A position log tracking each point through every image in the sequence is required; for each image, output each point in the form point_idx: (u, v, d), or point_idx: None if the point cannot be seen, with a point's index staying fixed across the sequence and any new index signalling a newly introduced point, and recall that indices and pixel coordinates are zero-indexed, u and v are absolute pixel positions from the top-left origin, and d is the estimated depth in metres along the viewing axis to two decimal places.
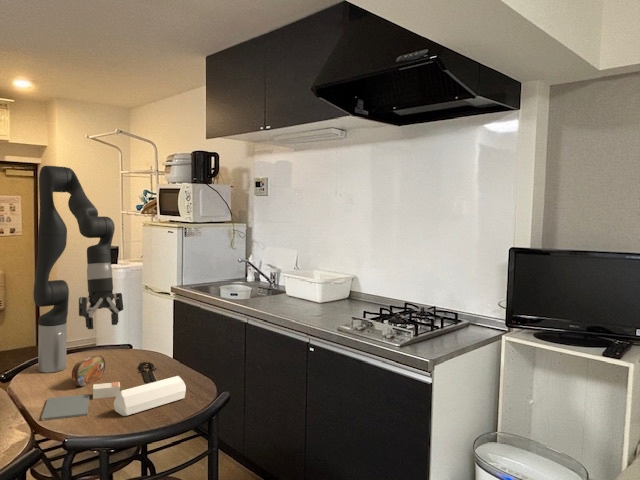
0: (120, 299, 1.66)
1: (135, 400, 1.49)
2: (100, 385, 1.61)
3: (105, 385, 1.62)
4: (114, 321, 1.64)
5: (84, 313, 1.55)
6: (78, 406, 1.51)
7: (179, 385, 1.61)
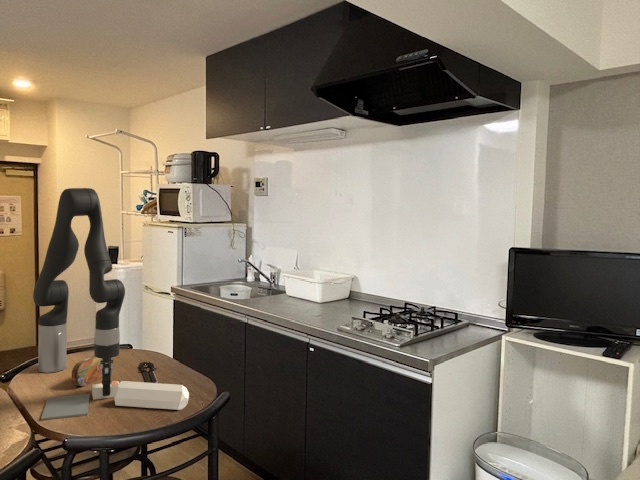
0: None
1: (127, 394, 1.53)
2: (99, 385, 1.61)
3: None
4: None
5: (110, 381, 1.57)
6: (78, 406, 1.51)
7: (176, 394, 1.53)
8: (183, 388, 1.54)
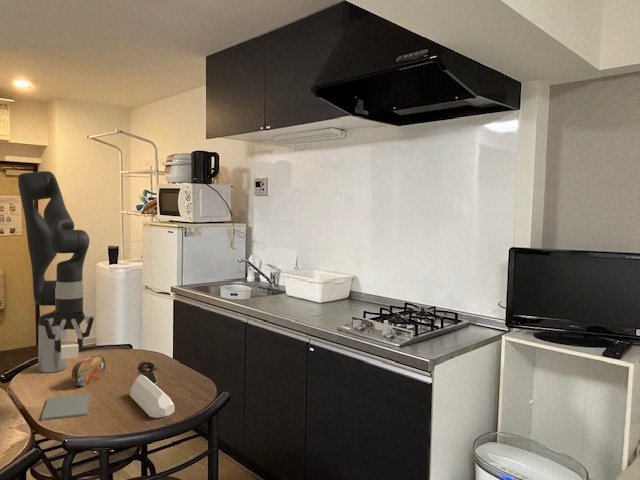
0: None
1: (136, 387, 1.59)
2: (67, 344, 1.48)
3: (68, 343, 1.50)
4: None
5: None
6: (78, 406, 1.51)
7: (154, 401, 1.47)
8: (162, 396, 1.47)
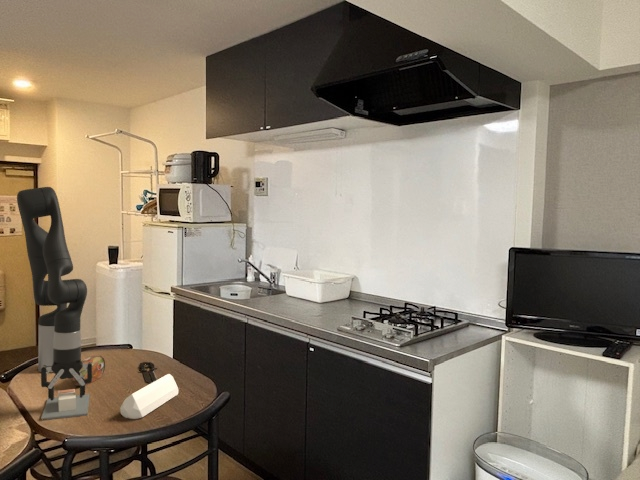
0: None
1: None
2: (64, 396, 1.49)
3: (66, 394, 1.50)
4: (53, 394, 1.50)
5: None
6: (78, 406, 1.51)
7: None
8: (130, 398, 1.45)
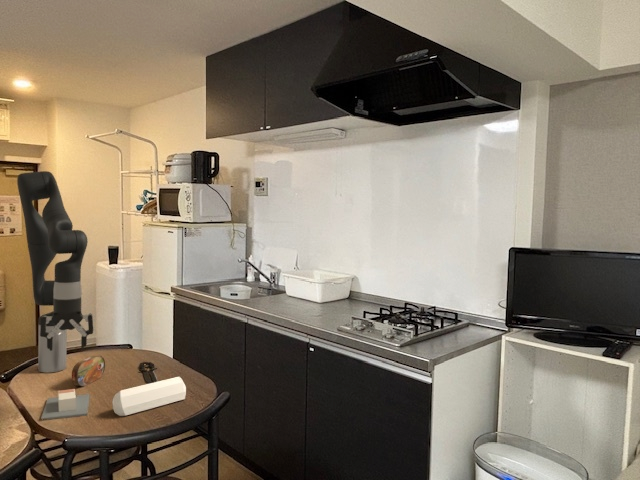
0: None
1: None
2: (64, 396, 1.49)
3: (66, 394, 1.50)
4: (52, 345, 1.49)
5: None
6: (78, 406, 1.51)
7: None
8: (118, 394, 1.48)
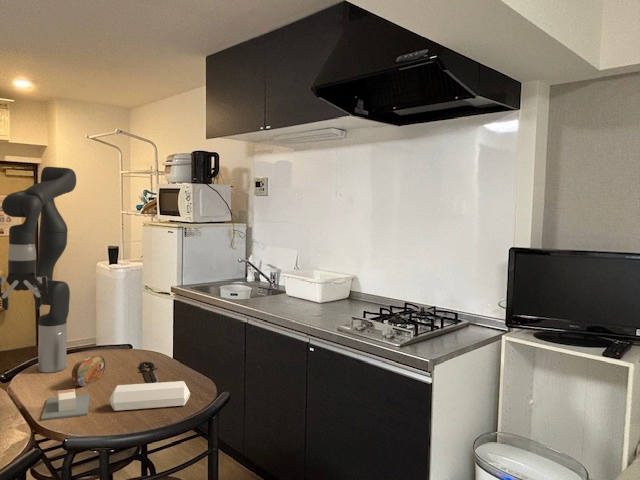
0: None
1: None
2: (64, 396, 1.49)
3: (66, 394, 1.50)
4: (7, 305, 1.56)
5: None
6: (78, 406, 1.51)
7: None
8: (115, 388, 1.52)
